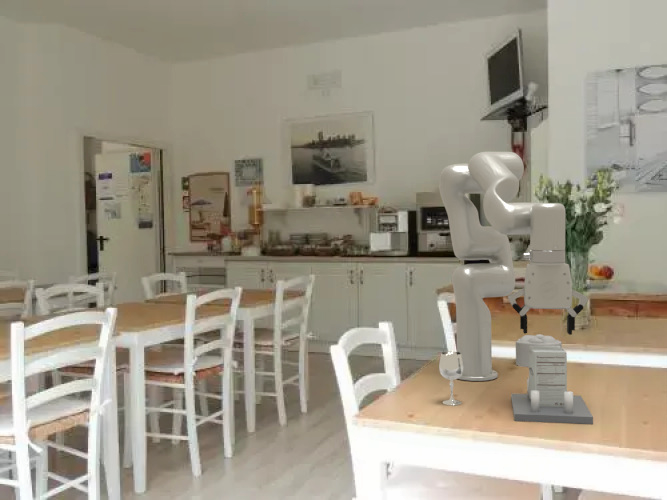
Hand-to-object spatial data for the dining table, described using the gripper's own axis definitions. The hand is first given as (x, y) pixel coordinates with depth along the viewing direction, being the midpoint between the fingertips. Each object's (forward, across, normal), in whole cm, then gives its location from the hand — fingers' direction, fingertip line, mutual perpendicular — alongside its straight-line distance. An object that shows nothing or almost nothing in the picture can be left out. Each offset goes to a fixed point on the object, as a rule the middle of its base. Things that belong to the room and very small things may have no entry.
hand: (547, 333), depth 152 cm
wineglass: (+18, -22, +3) cm, 28 cm away
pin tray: (+18, 0, -1) cm, 18 cm away
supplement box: (+16, 0, 0) cm, 16 cm away
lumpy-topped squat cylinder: (+19, +2, +51) cm, 55 cm away
